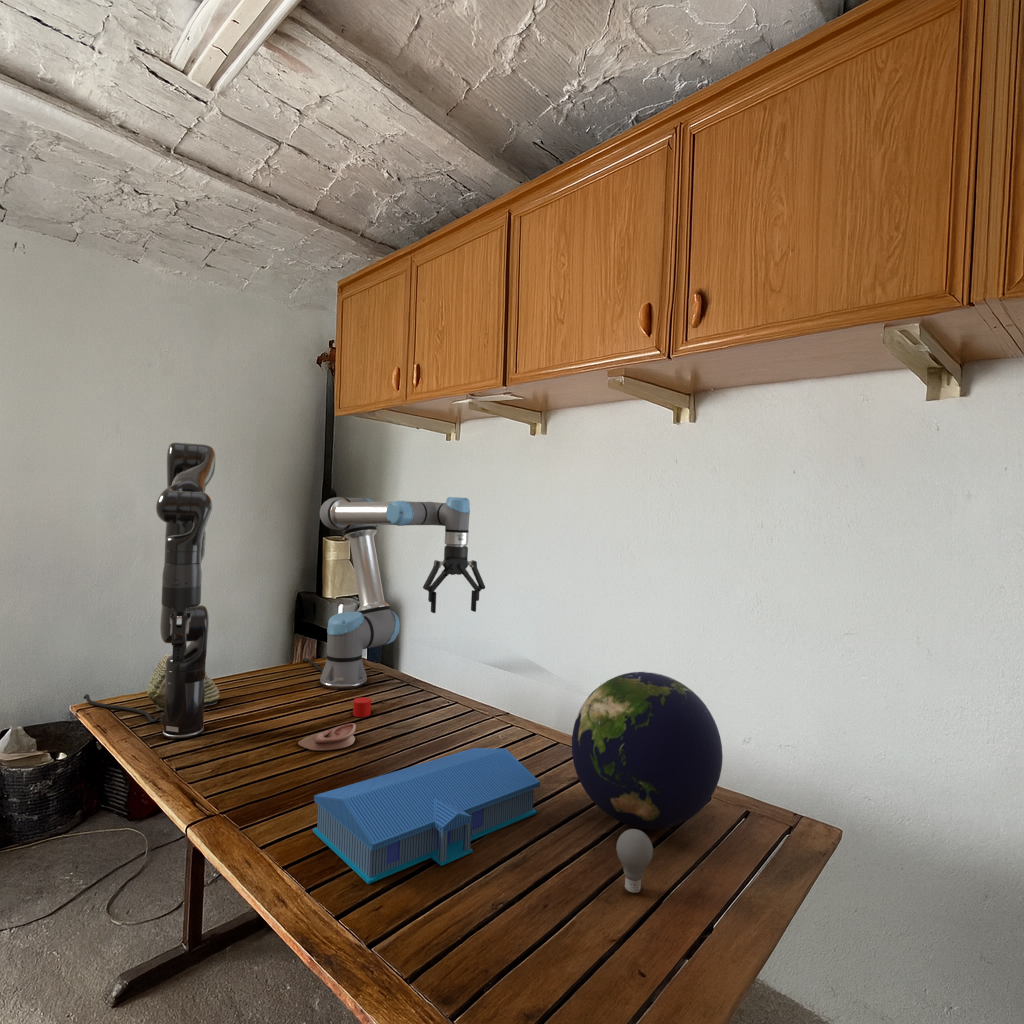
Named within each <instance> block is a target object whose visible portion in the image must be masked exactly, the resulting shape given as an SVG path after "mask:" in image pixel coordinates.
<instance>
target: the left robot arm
mask: <svg viewBox="0 0 1024 1024" xmlns="http://www.w3.org/2000/svg"><path fill="white" fill-rule="evenodd" d="M215 452H216V451H215V449H214V448H213V447H212V446H210V445H208V444H204V443H203V444H202V443H191V442H171V443H170V444H169V445H168V448H167V451H166V488H165V489H164V490H163V491H162V492H161V493H160V494H159V496H158V498H157V500H156V505H155V511H156V516H157V517H158V518H159V520H161V522H164V523H165V534H164V535H165V536H164V559H163V560H164V561H163V562H164V563H163V569H162V575H161V576H162V578H161V580H162V581H161V613H160V623H159V631H160V638H161V640H162V641H163V642H164V644H171V646H172V654H170V655H171V656H169V657H168V658H167V660H166V674H165V705H164V710H163V711H162V712H160V715H158V716H157V717H156V718H153V717H152V715H151V713H149V712H147V711H145V710H143V709H139V708H135V707H131V706H122V705H113V704H107V703H101V702H97V701H93V700H92V699H91V698H90V695H89V694H88V693H86V694H84V695H83V700H85V701H86V702H87V703H88V704H90V705H92V706H95V707H100V708H105V709H112V710H120V711H126V712H132V713H137V714H140V715H143V716H145V717H146V718H147V719H148V721H149V723H153V724H154V723H158V722H159V721H160V724H161V725H163V730H162V737H164V738H166V739H169V740H185V739H190V738H191V739H192V738H194V737H197V736H199V735H202V734H203V732H204V730H205V729H204V726H205V725H204V722H205V721H204V718H205V706H204V693H205V672H206V664H207V663H206V660H207V650H208V649H207V648H208V639H209V630H210V629H209V627H210V626H209V625H210V615H209V611H208V609H207V607H206V606H205V605H203V604H201V603H202V577H203V572H202V562H203V560H204V557H205V555H206V533H207V532H206V528H207V525H208V522H209V519H210V516H211V513H212V510H213V501H212V499H211V497H210V495H209V494H207V493H206V488H207V486H208V485H209V483H210V482H211V480H212V478H213V477H214V473H215V472H216V471H215V470H216V453H215ZM187 643H189V644H188V645H187ZM96 702H97V703H96Z"/></svg>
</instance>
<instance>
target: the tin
mask: <svg viewBox="0 0 1024 1024" xmlns="http://www.w3.org/2000/svg"><path fill="white" fill-rule="evenodd" d="M352 703H353V704H352V716H353V717H356V718H367V717H369V716H371V715H372V699H371V698H369V697H366V696H364V697H362V696H361V697H356V698H354V699H353V702H352Z"/></svg>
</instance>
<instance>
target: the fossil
mask: <svg viewBox="0 0 1024 1024" xmlns="http://www.w3.org/2000/svg"><path fill="white" fill-rule="evenodd" d="M171 655H172V654H165V655H164V656H163V657H162V658H161V659H160V660H159V662H158V663H157V666H156V667H155V669H154V670H153V672H152V675H151V677H150V680H149V684H148V688H147V697H148V699H149V700H150V701H152V703H153V704H154V706H155V711H158V712H159V711H162V712H163V711H164V705H165V674H166V660H167V658H168V657H169V656H171ZM220 698H221V696H220V690H219V688H218V686H217V685H216V683H215V682H214V681H213V679H212V678H211V677H209V675H208V674H207V672H206V671H205V693H204V707H207V706H213V705H215V704H217V703H218V701H219V699H220Z"/></svg>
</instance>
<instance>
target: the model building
mask: <svg viewBox="0 0 1024 1024" xmlns="http://www.w3.org/2000/svg"><path fill="white" fill-rule="evenodd" d="M540 787H541V781H540V780H539V779H538V778H537V777H536V776H535V775H534V774H532V772H530V770H529V769H528V768H526V767H525V766H524V764H523V763H522V762H520V760H519V759H518V758H516V757H515V756H514V755H513V754H512V753H511V752H510V751H509V750H508V749H507V748H503V747H502V748H498V747H497V748H496V747H495V748H494V747H493V748H491V747H472V748H470V749H466V750H463V751H460V752H455V753H452V754H450V755H446V756H442V757H439V758H436V759H432V760H429V761H426V762H423V763H419V764H416V765H412V766H409V767H406V768H402V769H399V770H396V771H395V770H394V771H392V772H389V773H386V774H382V775H379V776H376V777H372V778H369V779H365V780H361V781H359V782H355V783H352V784H348V785H345V786H342V787H338V788H336V789H332V790H328V791H324V792H321V793H318V794H315V795H313V802H315V803H316V804H317V825H316V826H317V827H315V828H312V833H313V834H314V835H315V836H317V838H318V839H320V841H322V842H323V844H325V845H326V846H327V847H328V848H329V849H330V850H331V851H332V852H334V853H335V854H336V855H337V856H338V857H339V858H340V859H341V860H342V861H343V862H344V863H345V864H346V865H347V866H348V867H349V868H350V869H352V871H353V872H354V873H355V874H357V875H358V876H359V878H361V879H362V880H363V881H364V882H365V883H366V884H367V885H371V884H373V883H374V882H375V883H376V882H377V881H379V880H381V879H385V878H386V877H389V876H391V875H394V874H396V873H398V872H401V871H403V870H406V869H408V868H411V867H413V866H415V865H418V864H419V863H422V862H425V861H427V860H429V859H432V860H433V861H434V862H435V863H436V864H437V865H439V866H440V867H442V866H445V865H447V864H450V863H452V862H454V861H456V860H459V859H461V858H463V857H465V856H468V855H470V854H472V853H473V852H474V849H473V848H471V844H472V843H471V842H472V841H475V840H477V839H480V838H481V837H484V836H486V835H488V834H492V833H493V832H496V831H497V830H501V829H503V828H505V827H507V826H510V825H513V824H515V823H517V822H520V821H522V820H524V819H526V818H529V817H532V816H534V815H537V813H538V812H537V810H536V809H534V795H535V793H534V791H535V789H538V788H540Z"/></svg>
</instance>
